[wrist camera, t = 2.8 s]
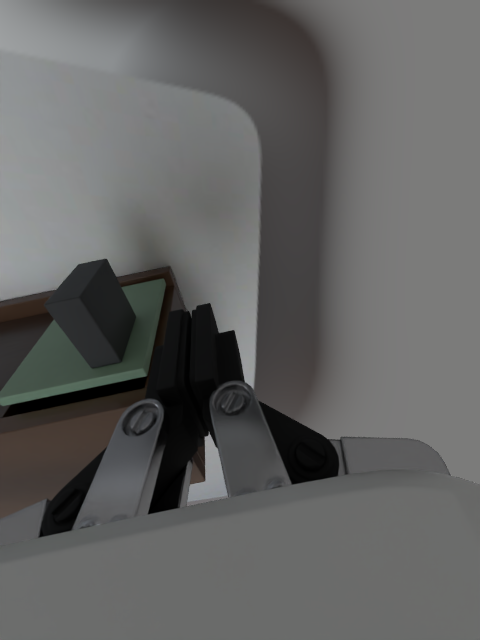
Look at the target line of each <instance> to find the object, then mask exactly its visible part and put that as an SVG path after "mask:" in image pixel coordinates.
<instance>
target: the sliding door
mask: <svg viewBox="0 0 480 640" xmlns="http://www.w3.org/2000/svg"><path fill="white" fill-rule="evenodd" d="M165 287H166V283H165V280H164V279H158V280H153V281H149V282H144V283H139V284H134V285H129V286H125V287H121V286H120V284H119V282H118V280H117V278H116V276H115V274H114V272H113V270H112V268H111V266H110V264H109V262H108V260H107V259H102V260H97V261H92V262H88V263H83V264H79V265H77V267H76V268H75V269H74V270H73V271H72V272H71V274H70V275H69V276H68V277H67V278H66V279H65V280H64V282H63V283H62V284H61V285H60V286H59V287H58V289H57V290H56V291H55V292H54V293H53V294H52V296H51V297H50V298H49V299H48V300H47V301H46V303H45V304H44V307H45V308H46V309H47V311H48V312H49V313H50V315H51V316H52V317H53V319H54V320H53V321H52V323H51V324H50V326H49V327H48V328H47V330H46V331H45V332H44V334H43V335H42V336H41V338H40V339H39V340H38V342H37V343H36V344H35V346H34V347H33V348H32V350H31V351H30V352H29V354H28V355H27V356H26V358H25V359H24V360H23V362H22V363H21V365H20V366H19V367H18V369H17V370H16V371H15V373H14V374H13V375H12V377H11V378H10V379H9V381H8V382H7V383H6V385H5V386H4V387H3V389H2V390H1V391H0V405H2V406H6V405H11V404H16V403H21V402H25V401H30V400H35V399H40V398H44V397H49V396H54V395H59V394H64V393H68V392H73V391H78V390H83V389H87V388H92V387H97V386H102V385H106V384H111V383H116V382H121V381H126V380H130V379H135V378H140V377H145V376H147V375H148V370H149V365H150V360H151V355H152V351H153V346H154V341H155V336H156V331H157V326H158V321H159V317H160V312H161V307H162V302H163V297H164V292H165Z"/></svg>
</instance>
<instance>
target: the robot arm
mask: <svg viewBox="0 0 480 640" xmlns="http://www.w3.org/2000/svg"><path fill="white" fill-rule="evenodd" d="M209 432H210V435H211V437H212V439H213V441H214V443H215V446H216V447H217V448H218V451H219V456H220V460H221V465H222V470H223V475H224V479H225V484H226V489H227V493H228V498H226V499H220V500H216V501H211V502H206V503H201V504H196V505H191V506H186V505H187V499H188V492H189V486H190V480H191V474H192V467H193V458H192V457H193V456H194V455H195V453H196V452H197V451H198V447H202V446H204V437H205V436H208V435H209ZM0 640H480V485H479V484H477V483H474V482H470V481H468V480H465V479H462V478H458V477H454V476H451V475H450V473H449V471H448V469H447V467H446V464H445V462H444V461H443V460H442V458H441V457H440V455H439V454H438V453H437V452H436V451H435V450H434V449H433V448H432V447H430V446H429V445H427V444H425V443H423V442H421V441H418V440H414V439H407V438H370V437H368V438H367V437H341V439H340V440H332V439H327V438H325V437H324V436H323V435H321V434H319V433H317V432H315V431H313V430H311V429H310V428H308V427H306V426H304V425H302V424H300V423H299V422H297V421H295V420H293V419H291V418H290V417H288V416H286V415H284V414H282V413H280V412H279V411H277V410H275V409H273V408H271V407H269V406H267V405H266V404H264V403H262V402H260V401H258V399H257V397H256V394H255V392H254V390H253V389H252V387H251V386H250V385H248V384H247V383H245V381H244V375H243V369H242V364H241V358H240V353H239V349H238V344H237V340H236V336H235V332H234V330H232V331H227V332H223V333H219V332H218V328H217V325H216V321H215V318H214V314H213V311H212V307H211V304H210V303H208V304H203V305H198V306H197V307H196V310H192V318H191V315H190V312H189V311H187V312H185V311H184V309H180V310H175V311H170V312H169V315H168V321H167V327H166V333H165V339H164V344H163V345H161V346H157V347H156V348H155V351H154V356H153V360H152V365H151V370H150V375H149V380H148V385H147V390H146V395H145V399H143V400H140V401H138V402H136V403H134V404H132V405H131V406H130V407H128V408H127V409H126V410H125V411H124V413H123V414H122V415H121V417H120V419H119V421H118V423H117V425H116V428H115V430H114V432H113V435H112V437H111V439H110V442H109V444H108V446H107V447H106V448H105V449H104V450H103V451H102V452H101V453H100V454H99V455H97V456H96V457H95V458H94V459H93V460H92V461H91V462H90V463H89V464H88V465H87V466H86V467H85V468H84V469H83V470H81V471H80V472H79V473H78V474H77V475H76V476H75V477H74V478H73V479H72V480H71V481H70V482H69V483H68V484H66V485H65V486H64V487H63V488H62V489H61V490H60V491H59V492H58V493H57V495H56V496H55V497H54V498H53V499H52V500H49V499H47V498H46V499H44V500H42V501H40V502H37V503H35V504H33V505H31V506H28V507H26V508H24V509H22V510H19V511H17V512H15V513H13V514H10V515H8V516H6V517H4V518H1V519H0Z"/></svg>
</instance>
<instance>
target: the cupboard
mask: <svg viewBox="0 0 480 640" xmlns="http://www.w3.org/2000/svg"><path fill="white" fill-rule="evenodd" d="M116 278H117V280H118V282H119V284H120V286H121V287H125V286H129V285H134V284H139V283H144V282H149V281H153V280H158V279H164V280H165V283H166V287H165V292H164V297H163V302H162V307H161V312H160V317H159V321H158V326H157V331H156V336H155V341H154V346H153V351H152V355H151V360H150V365H149V370H148V375H147V376H145V377H140V378H135V379H130V380H126V381H121V382H116V383H111V384H106V385H102V386H97V387H92V388H87V389H83V390H78V391H73V392H68V393H64V394H59V395H54V396H49V397H44V398H40V399H35V400H30V401H25V402H21V403H16V404H11V405H6V406H2V405H0V519H1V518H4V517H6V516H8V515H10V514H13V513H15V512H17V511H19V510H22V509H24V508H26V507H28V506H31V505H33V504H35V503H37V502H40V501H42V500H44V499H46V498H47V499H49V500H52V499H53V498H54V497H55V496H56V495H57V493H58V492H59V491H60V490H61V489H62V488H63V487H64V486H65V485H66V484H68V483H69V482H70V481H71V480H72V479H73V478H74V477H75V476H76V475H77V474H78V473H79V472H80V471H81V470H83V469H84V468H85V467H86V466H87V465H88V464H89V463H90V462H91V461H92V460H93V459H94V458H95V457H96V456H97V455H99V454H100V453H101V452H102V451H103V450H104V449H105V448H106V447H107V446H108V444H109V442H110V439H111V437H112V435H113V432H114V430H115V428H116V425H117V423H118V421H119V419H120V417H121V415H122V414H123V413H124V411H125V410H126V409H127V408H128V407H130V406H131V405H132V404H134V403H136V402H138V401H140V400H143V399H145V395H146V390H147V385H148V380H149V375H150V370H151V365H152V360H153V356H154V351H155V348H156V347H157V346H161V345H163V344H164V339H165V333H166V327H167V321H168V315H169V312H170V311H175V310H180V309H184V311H185V312H187V311H186V308H185V305H184V303H183V300H182V297H181V294H180V292H179V289H178V286H177V283H176V280H175V278H174V275H173V272H172V269H171V267H170V266H169V267H164V268H159V269H155V270H150V271H145V272H140V273H136V274H131V275H126V276H121V277H116ZM55 291H56V290H54V291H50V292H45V293H40V294H35V295H31V296H26V297H21V298H16V299H12V300H7V301H2V302H0V391H1V390H2V389H3V387H4V386H5V385H6V383H7V382H8V381H9V379H10V378H11V377H12V375H13V374H14V373H15V371H16V370H17V369H18V367H19V366H20V365H21V363H22V362H23V360H24V359H25V358H26V356H27V355H28V354H29V352H30V351H31V350H32V348H33V347H34V346H35V344H36V343H37V342H38V340H39V339H40V338H41V336H42V335H43V334H44V332H45V331H46V330H47V328H48V327H49V326H50V324H51V323H52V321H53V320H54V319H53V317H52V316H51V315H50V313H49V312H48V311H47V309H46V308H45V307H44V304H45V303H46V301H47V300H48V299H49V298H50V297H51V296H52V294H53V293H54V292H55ZM192 458H193V467H192V474H191V480H190V484H195V483H199V482H204V481H205V437H204V446H202V447H198V451H197V452H196V453H195V455H194V456H193V457H192Z"/></svg>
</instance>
